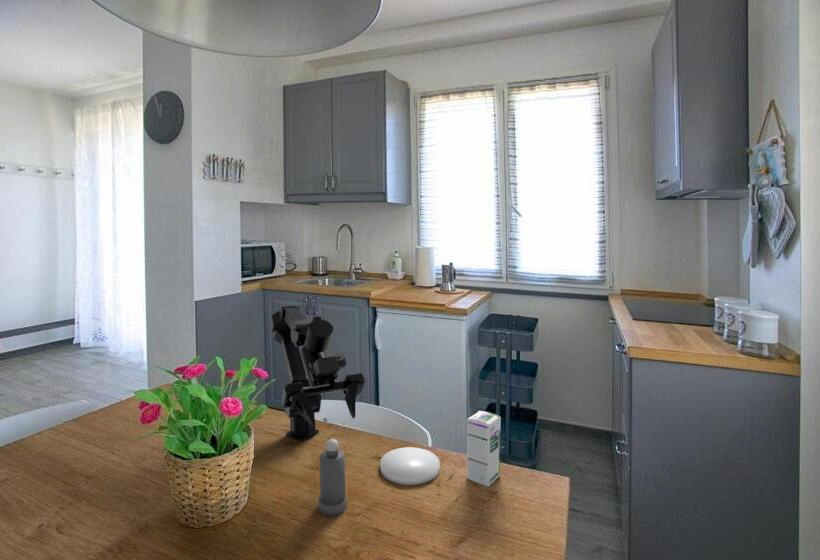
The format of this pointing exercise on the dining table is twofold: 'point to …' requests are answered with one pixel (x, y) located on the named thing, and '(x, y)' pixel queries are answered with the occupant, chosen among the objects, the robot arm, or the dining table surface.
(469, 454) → the syrup box
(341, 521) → the dining table surface
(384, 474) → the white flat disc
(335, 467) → the pepper mill
